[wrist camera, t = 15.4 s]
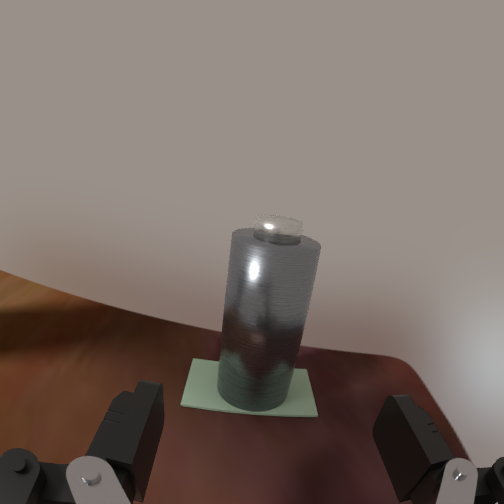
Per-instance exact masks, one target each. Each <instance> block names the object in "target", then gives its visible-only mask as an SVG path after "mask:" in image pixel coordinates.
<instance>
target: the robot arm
mask: <svg viewBox="0 0 504 504" xmlns="http://www.w3.org/2000/svg"><path fill="white" fill-rule="evenodd" d="M163 425H164V401H163V386H162V384H161V383H156V382H151V381H146V380H140V381H139V382H138V384H137V386H136V389H135V391H134V393H132V392H127V391H123V392H122V393H120V394H119V395H118V396H117V397H115V398H114V399H113V401H112V403H111V405H110V407H109V409H108V412H106V414H105V416H104V420H103V421H102V422H101V424H100V426H99V429H98V431H97V433H96V435H95V437H94V439H93V441H92V443H91V445H90V447H89V449H88V451H87V453H86V454H85V456H83V457H79V458H77V459H75V460H73V461H72V462H71V463H70V464H53V463H44V462H39V461H38V459H37V458H36V456H35V455H34V454H33V453H31V452H30V451H28V450H25V449H21V448H15V449H11V450H8V451H6V452H5V453H4V454H3V455H2V456H1V457H0V504H133V500H135V501H139V502H143V500H144V496H145V492H146V489H147V485H148V481H149V477H150V474H151V470H152V466H153V463H154V459H155V455H156V452H157V448H158V444H159V441H160V437H161V434H162V430H163ZM373 438H374V441H375V443H376V445H377V448H378V450H379V453H380V455H381V458H382V460H383V462H384V465H385V467H386V470H387V472H388V475H389V477H390V480H391V482H392V485H393V487H394V490H395V492H396V495H397V498H398V500H399V502H403V501H407V500H411V501H412V503H413V504H495V503H496V502H498V504H504V457H501V458H499V459H498V460H497V461H496V462H495V463H494V464H493V466H492V467H489V468H476V467H475V466H474V464H473V463H471V462H470V461H468V460H466V459H463V458H455V456H454V454H453V453H452V451H451V450H450V448H449V446H448V445H447V443H446V441H445V440H444V438H443V437H442V435H441V433H440V432H438V429H437V427H436V425H434V422H433V421H432V419H431V418H430V416H429V414H428V413H427V412H425V411H424V410H423V409H422V408H420V407H419V406H416V405H415V403H414V402H413V400H412V399H411V397H410V396H409V395H407V394H405V395H393V396H388V397H387V399H386V400H385V403H384V405H383V407H382V409H381V411H380V413H379V415H378V417H377V419H376V421H375V424H374V427H373Z"/></svg>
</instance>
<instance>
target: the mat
mask: <svg viewBox="0 0 504 504" xmlns="http://www.w3.org/2000/svg"><path fill="white" fill-rule="evenodd" d="M218 368H219V362H218V361H210V360H202V359H195V358H193V361H192V364H191V368H190V372H189V375H188V379H187V383H186V386H185V390H184V394H183V397H182V401H181V406H185V407H191V408H198V409H205V410H213V411H221V412H230V413H240V414H252V415H266V416H286V417H318V412H317V408H316V404H315V400H314V396H313V392H312V388H311V384H310V381H309V377H308V373H307V369H294V372H293V376H292V380H291V384H290V388H289V392H288V395H287V398H286V400H285V401H284V402H283V403H282V404H281V405H280V406H278V407H277V408H275V409H272V410H269V411H263V412H252V411H245V410H242V409H238V408H236V407H234V406H232V405H230V404H229V403H227V402H226V401H225V400H224V399H223V398H222V397H221V396H220V394H219V392H218V389H217V379H218Z"/></svg>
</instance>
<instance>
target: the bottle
mask: <svg viewBox="0 0 504 504" xmlns="http://www.w3.org/2000/svg"><path fill="white" fill-rule="evenodd" d="M302 231H303V222H301V221H299V220H296V219H292V218H287V217H282V216H274V215H257V216H256V217H255V225H254V228H244V229H238V230H235V231H234V232H233V233H232V239H231V249H230V258H229V268H228V277H227V286H226V295H225V305H224V315H223V326H222V336H221V346H220V357H219V368H218V379H217V389H218V392H219V394H220V396H221V397H222V398H223V399H224V400H225V401H226V402H227V403H229V404H230V405H232V406H234V407H236V408H238V409H242V410H245V411H252V412H263V411H269V410H272V409H275V408H277V407H278V406H280V405H281V404H282V403H283V402H284V401H285V400H286V398H287V395H288V392H289V388H290V384H291V380H292V376H293V372H294V368H295V364H296V360H297V356H298V352H299V348H300V344H301V340H302V335H303V331H304V327H305V322H306V318H307V313H308V309H309V304H310V299H311V295H312V290H313V285H314V280H315V275H316V270H317V265H318V260H319V255H320V249H321V245H320V244H319V243H318V242H317V241H315V240H313V239H311V238H309V237H306V236H303V235H302Z"/></svg>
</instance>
